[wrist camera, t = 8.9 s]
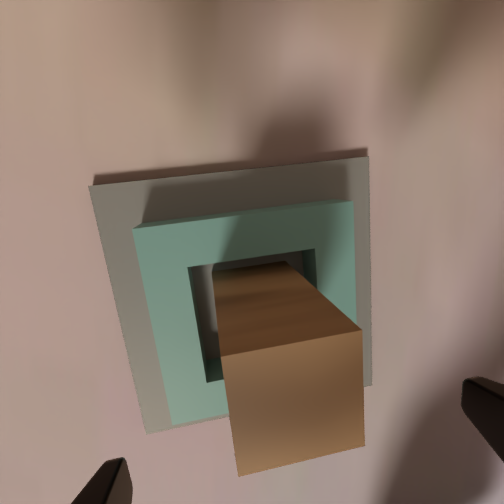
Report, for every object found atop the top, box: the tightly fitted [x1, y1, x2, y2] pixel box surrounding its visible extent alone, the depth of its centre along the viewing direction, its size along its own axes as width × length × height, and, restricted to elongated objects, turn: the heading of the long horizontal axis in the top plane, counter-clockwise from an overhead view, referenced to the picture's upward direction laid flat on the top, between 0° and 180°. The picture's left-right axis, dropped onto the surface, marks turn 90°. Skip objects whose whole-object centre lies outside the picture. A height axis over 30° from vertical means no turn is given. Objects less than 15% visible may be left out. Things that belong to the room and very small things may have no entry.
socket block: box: [88, 156, 372, 435], centre depth 15 cm, size 14×14×2 cm
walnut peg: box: [212, 261, 365, 477], centre depth 12 cm, size 4×4×8 cm
